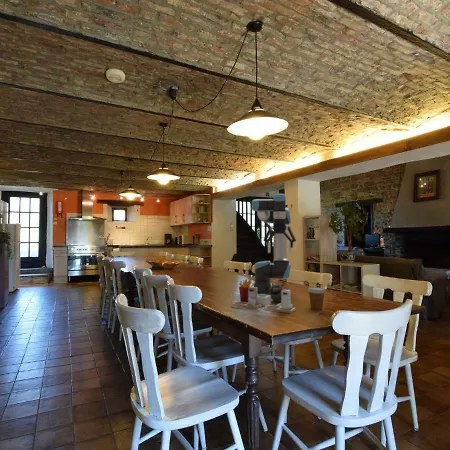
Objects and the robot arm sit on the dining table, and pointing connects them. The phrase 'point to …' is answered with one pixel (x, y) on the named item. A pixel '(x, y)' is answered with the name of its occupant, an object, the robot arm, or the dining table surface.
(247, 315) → the dining table surface
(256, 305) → the pallet
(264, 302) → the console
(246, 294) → the french fries
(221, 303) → the dining table surface
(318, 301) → the disposable coffee cup
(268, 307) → the pallet
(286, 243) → the robot arm
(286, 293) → the block
